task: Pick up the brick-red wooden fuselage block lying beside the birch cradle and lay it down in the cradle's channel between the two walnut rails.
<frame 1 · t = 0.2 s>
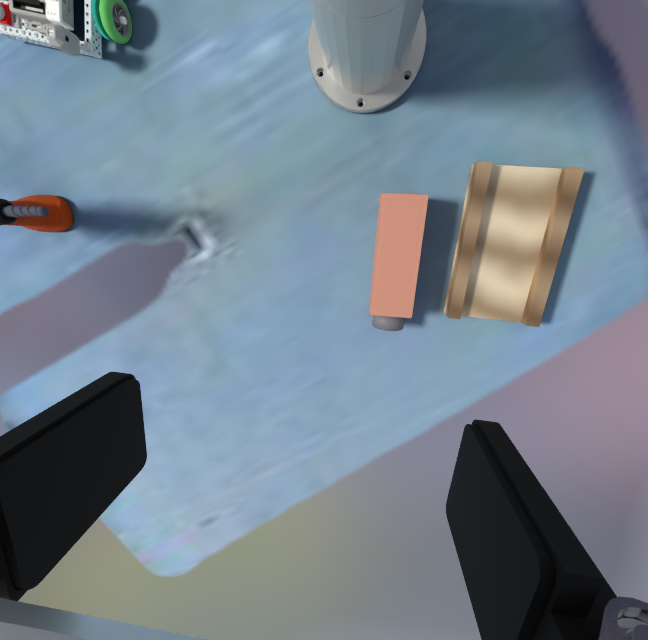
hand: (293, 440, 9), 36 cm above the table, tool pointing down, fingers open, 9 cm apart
cradle: (502, 247, 40), on the table
fuselage: (393, 254, 42), on the table
toy drill: (78, 213, 46), on the table
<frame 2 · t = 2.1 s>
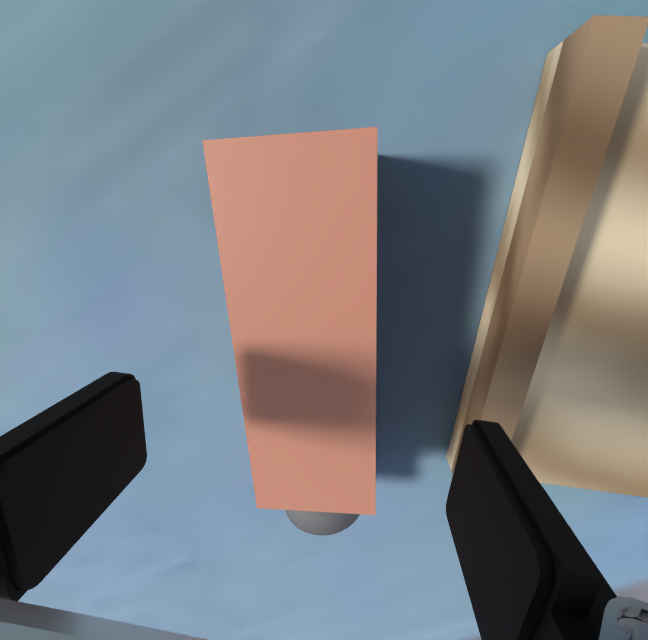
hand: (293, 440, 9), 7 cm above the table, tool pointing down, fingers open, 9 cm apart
cradle: (615, 309, 14), on the table
fuselage: (320, 315, 16), on the table
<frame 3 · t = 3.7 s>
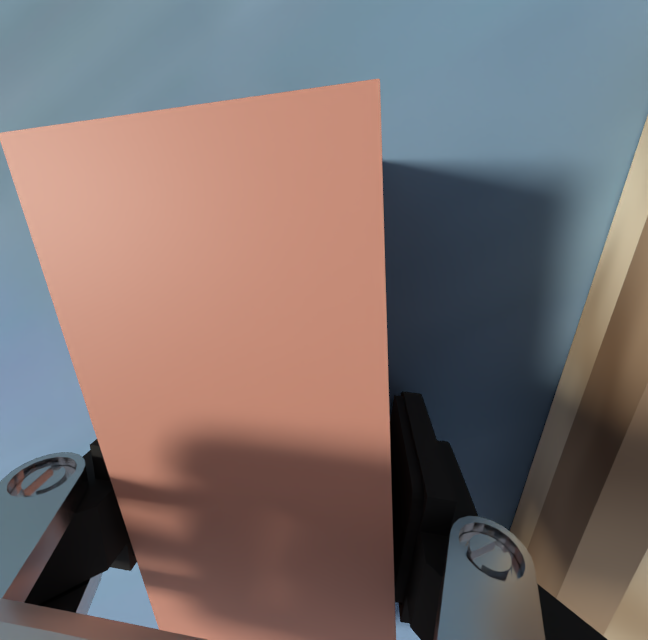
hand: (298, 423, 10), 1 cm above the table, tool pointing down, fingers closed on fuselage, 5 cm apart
fuselage: (302, 400, 11), on the table, touching gripper
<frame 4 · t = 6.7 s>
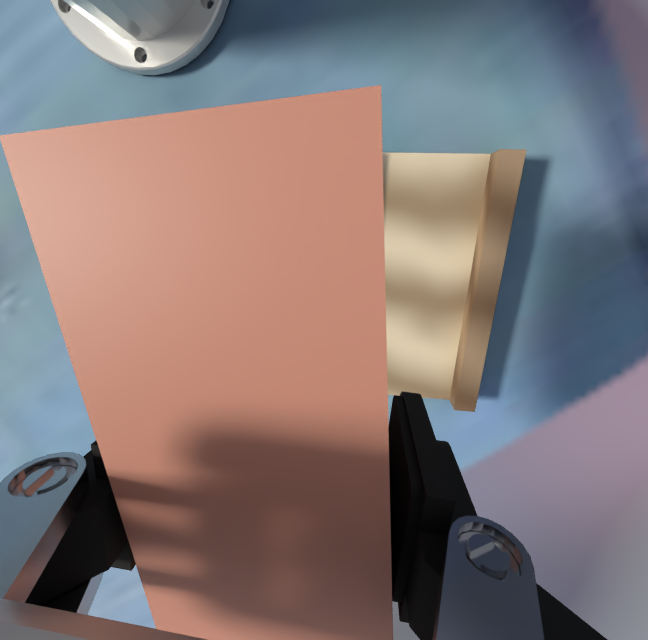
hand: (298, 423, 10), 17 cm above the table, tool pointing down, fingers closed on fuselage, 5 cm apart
cradle: (409, 285, 25), on the table
fuselage: (301, 402, 11), point 16 cm above the table, touching gripper
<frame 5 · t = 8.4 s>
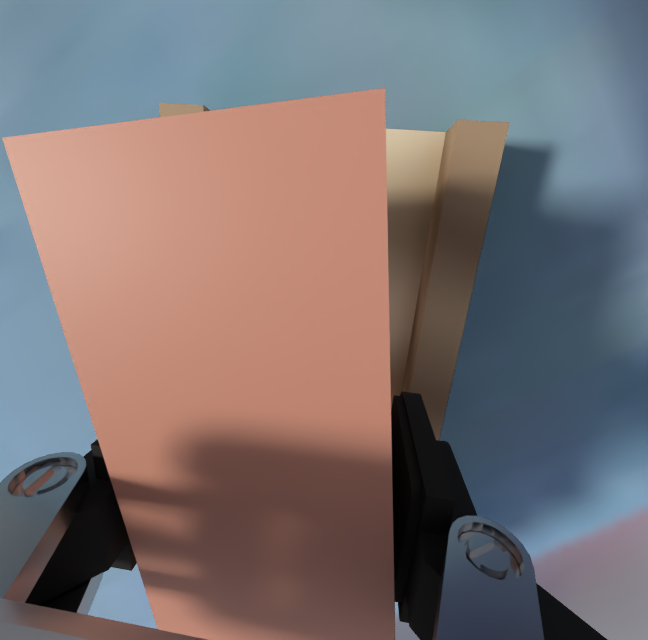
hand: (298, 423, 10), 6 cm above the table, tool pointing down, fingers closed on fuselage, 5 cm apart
cradle: (316, 348, 15), on the table
fuselage: (302, 403, 11), point 5 cm above the table, touching gripper
when the fingers open (3 cm above the table, at t = 9.6 s): fuselage drops 1 cm, resting on cradle.
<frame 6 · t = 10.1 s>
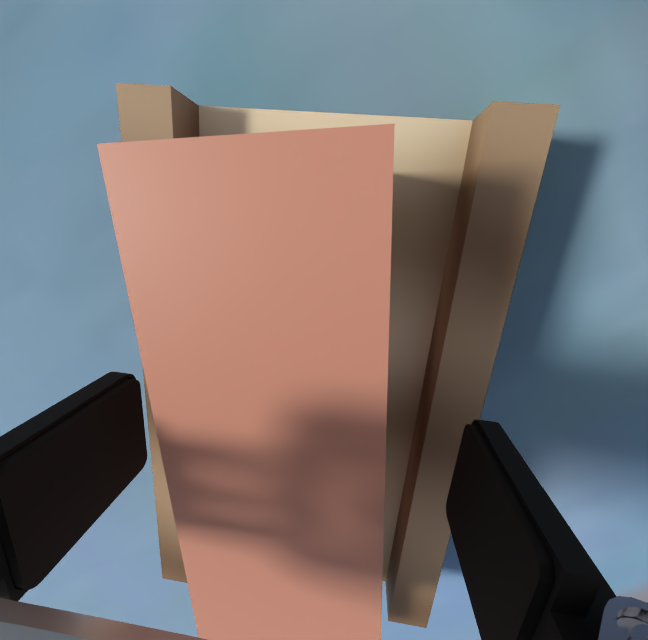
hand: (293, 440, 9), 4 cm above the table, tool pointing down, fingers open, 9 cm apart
cradle: (313, 376, 13), on the table
fuselage: (307, 381, 12), point 1 cm above the table, touching cradle
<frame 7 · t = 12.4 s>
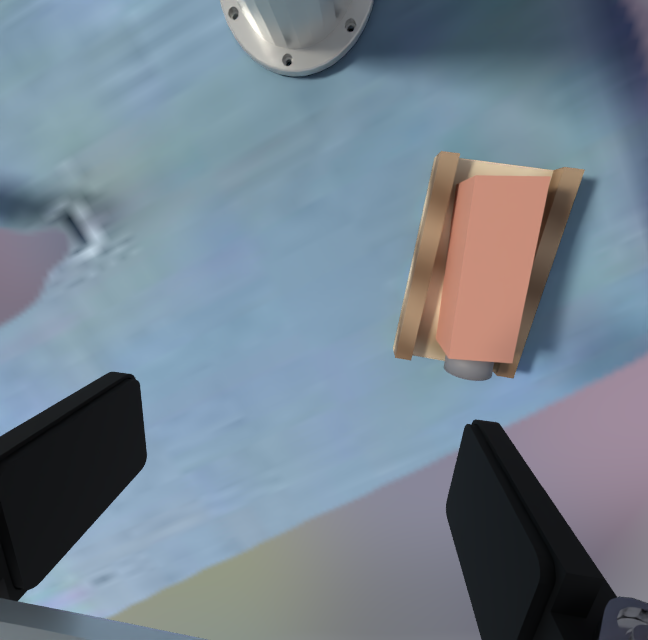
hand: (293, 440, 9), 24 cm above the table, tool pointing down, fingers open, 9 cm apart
cradle: (470, 270, 30), on the table
fuselage: (473, 267, 29), point 1 cm above the table, touching cradle
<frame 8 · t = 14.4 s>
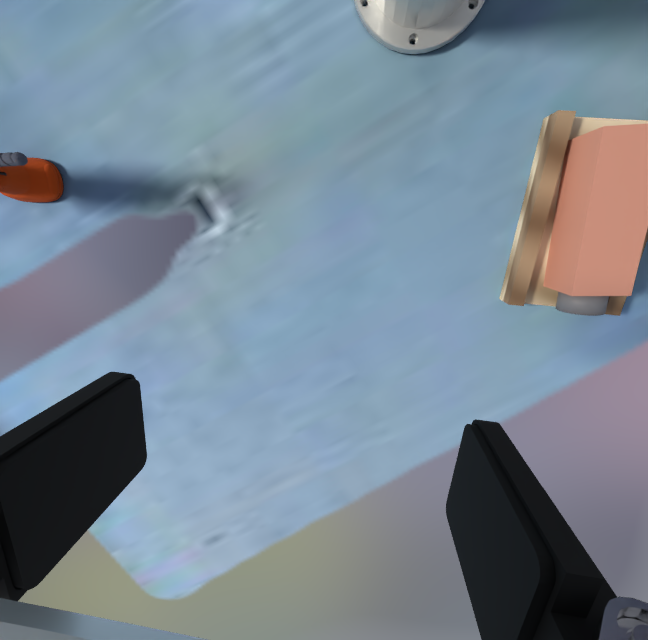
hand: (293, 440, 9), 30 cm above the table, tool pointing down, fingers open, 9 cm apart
cradle: (575, 220, 34), on the table
fuselage: (581, 217, 33), point 1 cm above the table, touching cradle
toy drill: (70, 181, 39), on the table
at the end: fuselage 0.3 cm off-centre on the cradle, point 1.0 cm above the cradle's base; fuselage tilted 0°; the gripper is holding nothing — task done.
